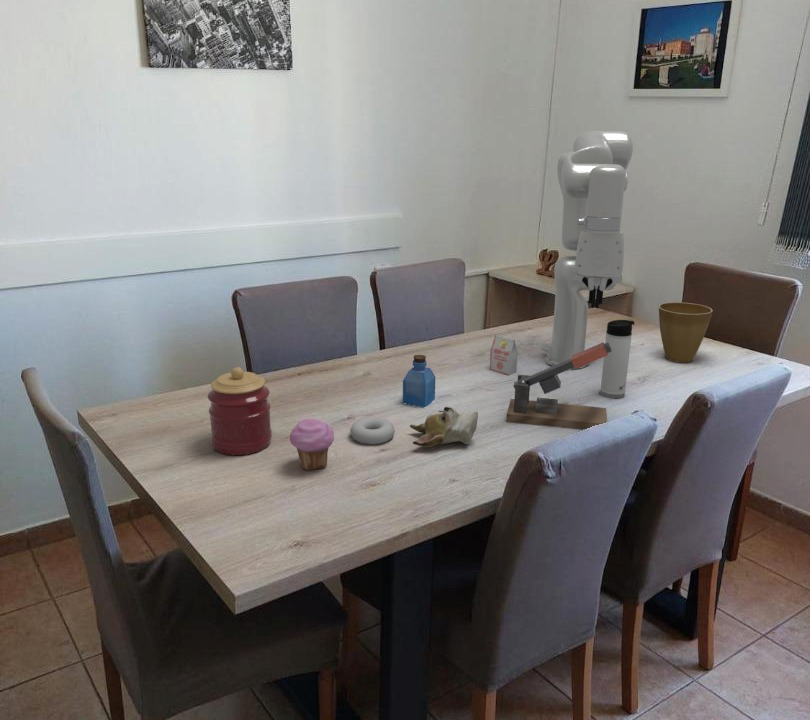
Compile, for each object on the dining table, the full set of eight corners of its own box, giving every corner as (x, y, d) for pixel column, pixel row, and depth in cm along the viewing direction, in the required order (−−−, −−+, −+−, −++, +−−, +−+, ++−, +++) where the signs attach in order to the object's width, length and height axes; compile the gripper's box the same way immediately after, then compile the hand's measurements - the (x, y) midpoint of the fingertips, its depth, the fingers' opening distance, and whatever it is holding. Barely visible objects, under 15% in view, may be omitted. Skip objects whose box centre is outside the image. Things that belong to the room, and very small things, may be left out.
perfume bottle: (434, 399, 183) (436, 354, 179) (425, 407, 177) (426, 362, 173) (412, 395, 185) (413, 351, 181) (402, 403, 180) (403, 358, 176)
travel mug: (626, 399, 184) (635, 324, 177) (600, 397, 185) (608, 323, 178) (624, 391, 189) (633, 318, 183) (599, 389, 191) (606, 316, 184)
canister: (242, 462, 148) (237, 382, 143) (198, 447, 155) (191, 370, 149) (284, 439, 159) (280, 364, 153) (241, 426, 165) (236, 354, 160)
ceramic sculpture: (481, 414, 151) (411, 419, 151) (482, 451, 154) (413, 456, 153) (474, 396, 161) (408, 400, 161) (475, 431, 164) (410, 436, 163)
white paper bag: (497, 366, 207) (499, 333, 204) (516, 372, 203) (518, 338, 199) (489, 369, 205) (491, 336, 201) (508, 375, 200) (510, 341, 197)
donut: (365, 451, 154) (403, 439, 160) (365, 437, 153) (403, 425, 159) (342, 435, 162) (379, 424, 167) (341, 421, 161) (378, 410, 166)
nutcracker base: (506, 421, 169) (508, 386, 167) (510, 406, 179) (512, 372, 176) (606, 432, 164) (610, 395, 161) (605, 415, 173) (609, 380, 171)
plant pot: (709, 356, 218) (716, 305, 213) (699, 370, 206) (707, 316, 201) (659, 348, 225) (665, 299, 220) (646, 361, 213) (653, 309, 208)
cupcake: (297, 478, 142) (295, 432, 138) (286, 460, 149) (284, 416, 146) (340, 470, 145) (339, 425, 142) (327, 453, 153) (326, 409, 149)
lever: (521, 404, 170) (512, 386, 169) (523, 397, 174) (514, 379, 173) (617, 364, 162) (607, 345, 161) (616, 358, 166) (607, 339, 165)
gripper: (567, 225, 154) (560, 308, 160) (639, 228, 151) (630, 313, 156) (568, 221, 161) (561, 301, 167) (637, 224, 158) (628, 305, 163)
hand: (594, 306), depth 161 cm, fingers closed
